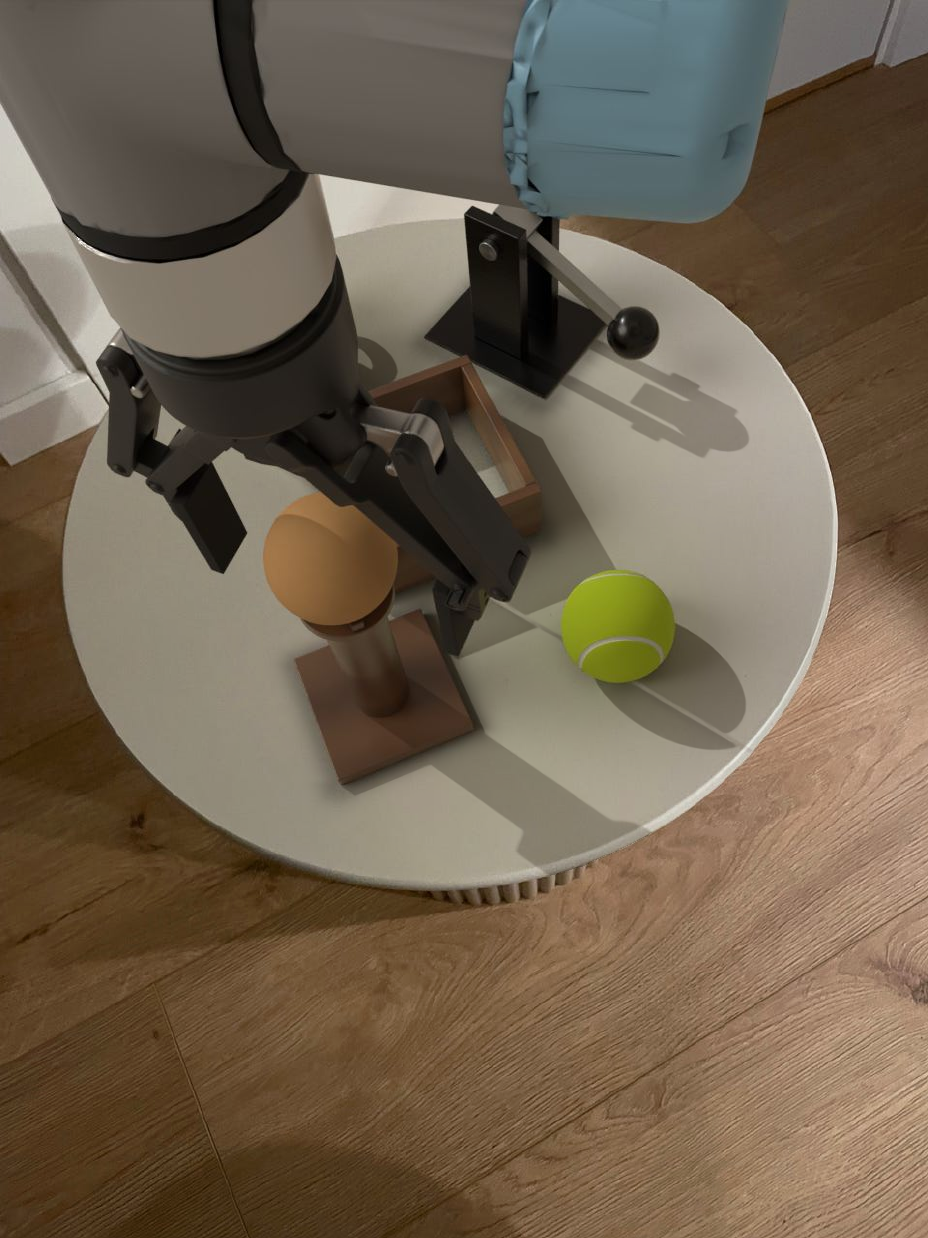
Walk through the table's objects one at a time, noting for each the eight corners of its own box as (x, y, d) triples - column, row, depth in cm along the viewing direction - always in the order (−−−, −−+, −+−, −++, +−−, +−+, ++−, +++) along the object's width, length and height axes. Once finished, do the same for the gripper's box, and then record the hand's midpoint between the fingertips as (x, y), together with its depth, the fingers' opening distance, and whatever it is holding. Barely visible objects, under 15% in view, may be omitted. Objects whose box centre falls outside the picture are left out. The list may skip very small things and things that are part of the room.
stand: (474, 731, 63) (455, 624, 49) (341, 787, 62) (284, 693, 48) (422, 616, 67) (392, 487, 53) (296, 666, 66) (232, 548, 52)
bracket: (608, 328, 77) (619, 191, 66) (543, 407, 74) (544, 277, 63) (491, 273, 80) (483, 134, 69) (425, 346, 78) (405, 213, 66)
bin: (542, 537, 69) (542, 491, 64) (372, 605, 68) (358, 562, 62) (472, 407, 75) (467, 353, 69) (314, 466, 73) (296, 416, 68)
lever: (653, 345, 71) (678, 321, 68) (627, 378, 70) (651, 356, 67) (503, 209, 70) (521, 178, 66) (473, 241, 68) (490, 211, 65)
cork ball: (424, 618, 50) (408, 552, 44) (303, 666, 50) (271, 606, 44) (380, 519, 53) (360, 445, 47) (264, 563, 52) (230, 494, 47)
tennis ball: (673, 697, 63) (687, 651, 57) (563, 701, 64) (565, 656, 57) (662, 600, 66) (674, 546, 60) (557, 604, 67) (558, 551, 60)
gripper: (629, 288, 31) (595, 604, 50) (-18, 127, 37) (173, 466, 56) (544, 477, 28) (542, 736, 47) (-145, 271, 34) (102, 576, 53)
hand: (342, 590), depth 51 cm, fingers open, 13 cm apart
